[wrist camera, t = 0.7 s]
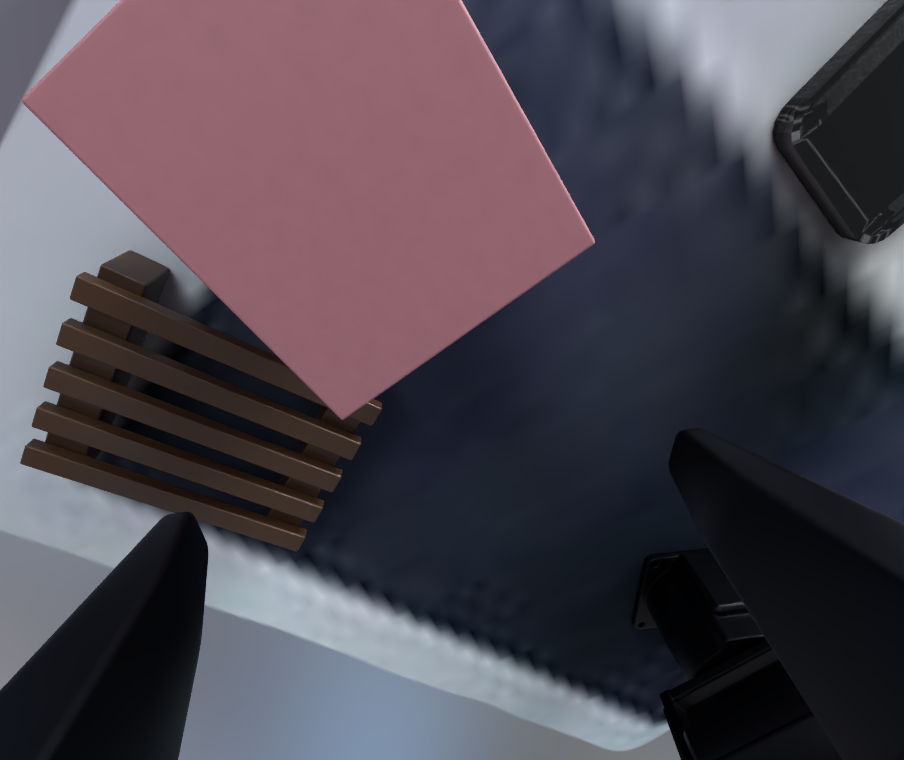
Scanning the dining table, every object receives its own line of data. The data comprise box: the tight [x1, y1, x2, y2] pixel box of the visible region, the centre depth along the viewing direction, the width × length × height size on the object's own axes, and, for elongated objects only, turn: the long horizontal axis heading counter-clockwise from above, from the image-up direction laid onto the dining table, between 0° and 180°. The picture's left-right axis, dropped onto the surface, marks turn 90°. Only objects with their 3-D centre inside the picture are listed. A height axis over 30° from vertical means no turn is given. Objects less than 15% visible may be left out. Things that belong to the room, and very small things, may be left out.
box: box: [22, 0, 595, 420], centre depth 14 cm, size 7×6×13 cm
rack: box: [20, 250, 382, 551], centre depth 23 cm, size 12×10×3 cm
